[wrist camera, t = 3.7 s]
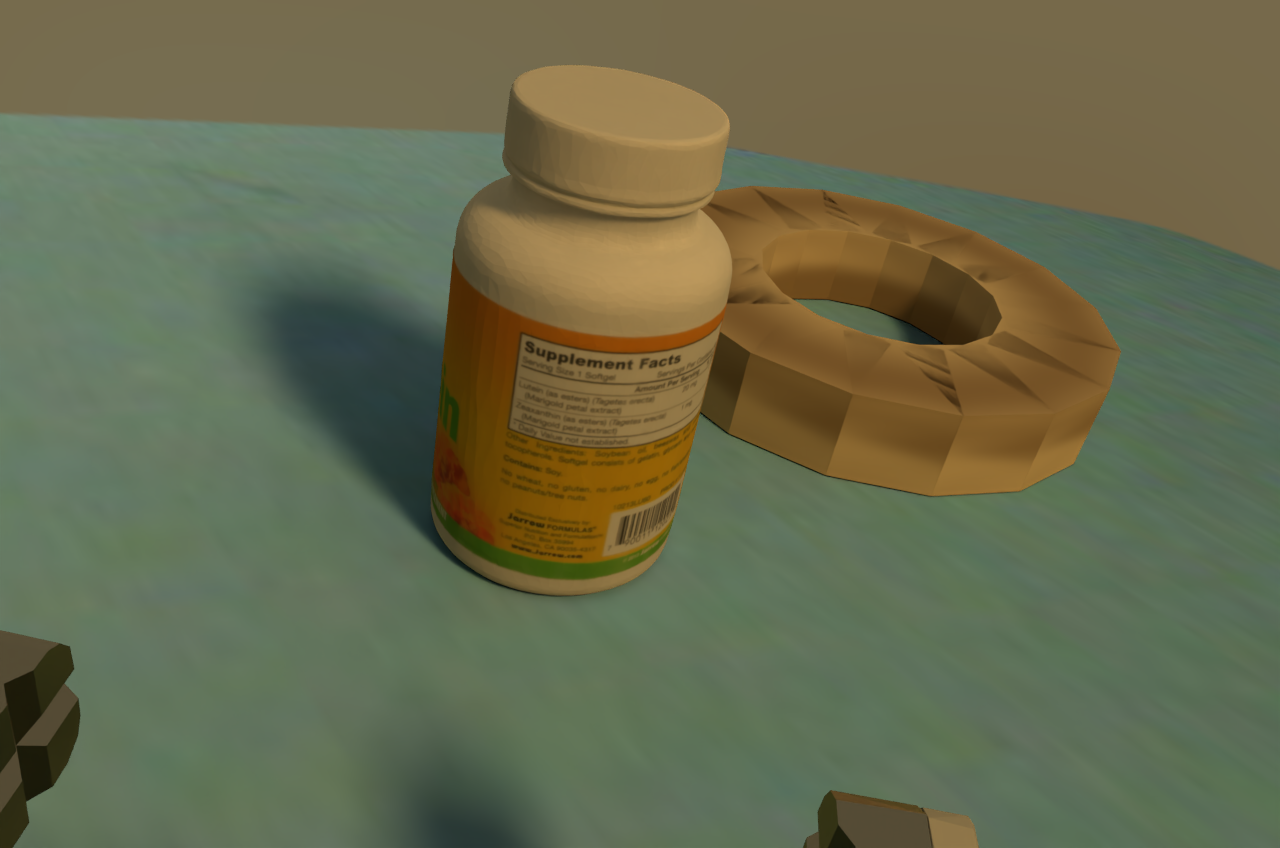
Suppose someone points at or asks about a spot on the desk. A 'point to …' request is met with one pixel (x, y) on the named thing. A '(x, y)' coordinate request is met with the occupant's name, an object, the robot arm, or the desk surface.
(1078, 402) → the plain brown donut
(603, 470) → the supplement bottle
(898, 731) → the desk surface
